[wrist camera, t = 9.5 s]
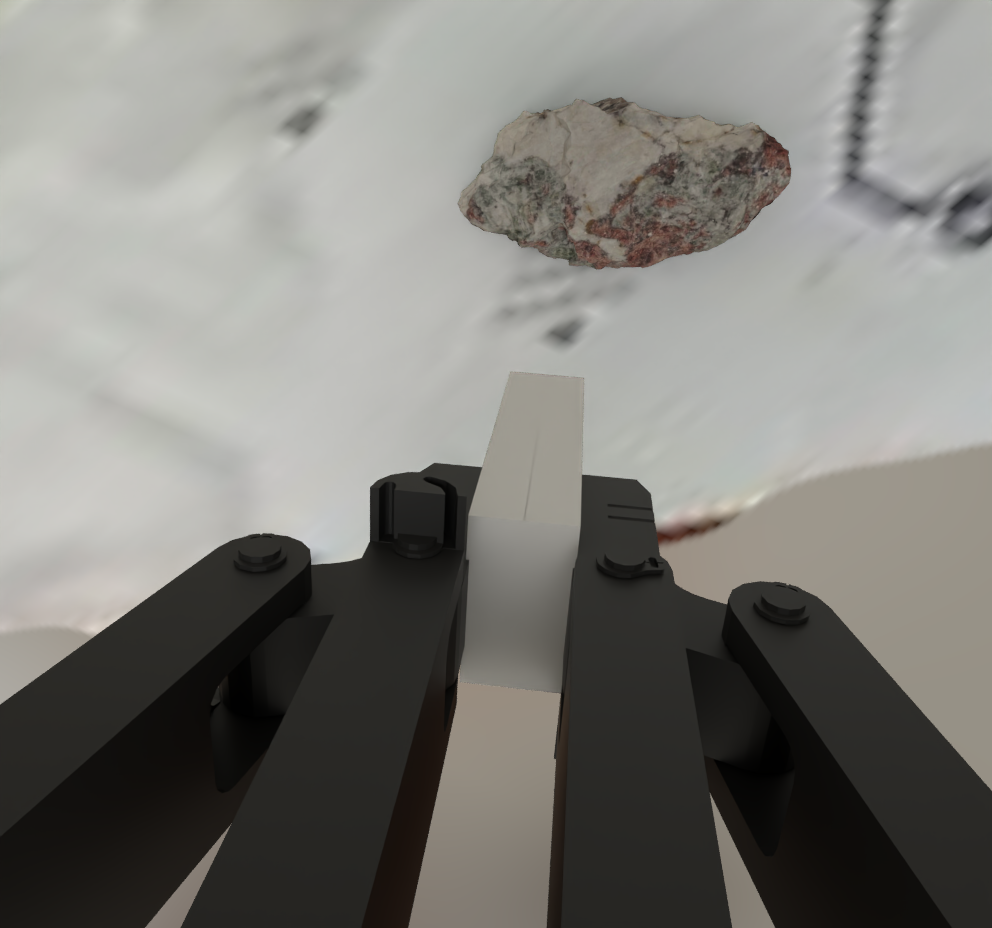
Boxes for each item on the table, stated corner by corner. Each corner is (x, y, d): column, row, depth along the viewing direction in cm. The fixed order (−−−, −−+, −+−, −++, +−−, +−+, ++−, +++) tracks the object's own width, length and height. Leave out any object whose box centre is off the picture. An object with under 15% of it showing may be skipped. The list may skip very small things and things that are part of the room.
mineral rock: (459, 236, 45) (450, 248, 41) (487, 71, 42) (480, 66, 38) (737, 293, 45) (755, 310, 41) (784, 132, 42) (810, 134, 38)
